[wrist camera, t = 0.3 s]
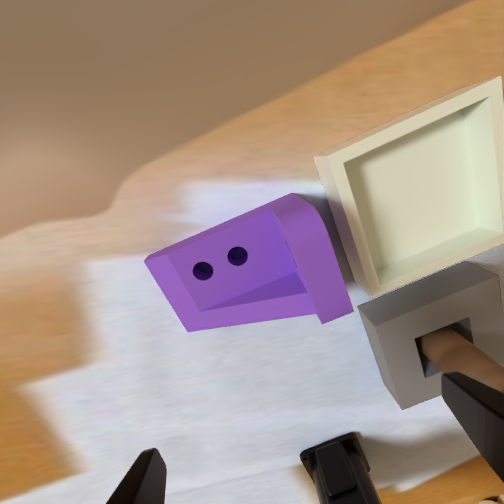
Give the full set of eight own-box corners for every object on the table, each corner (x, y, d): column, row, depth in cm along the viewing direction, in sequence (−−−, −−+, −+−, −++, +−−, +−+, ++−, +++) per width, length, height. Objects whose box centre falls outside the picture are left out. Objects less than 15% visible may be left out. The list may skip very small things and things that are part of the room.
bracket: (290, 192, 20) (319, 208, 14) (318, 267, 23) (354, 311, 16) (149, 254, 21) (114, 296, 14) (190, 321, 23) (175, 383, 17)
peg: (447, 335, 26) (574, 438, 16) (404, 353, 26) (504, 463, 16) (440, 299, 24) (574, 388, 15) (394, 318, 24) (497, 417, 15)
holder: (479, 346, 26) (509, 368, 23) (384, 383, 27) (402, 410, 24) (465, 261, 23) (498, 275, 20) (357, 306, 24) (374, 326, 21)
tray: (478, 228, 22) (515, 238, 19) (354, 281, 23) (372, 298, 20) (459, 88, 18) (501, 75, 16) (312, 156, 19) (327, 155, 16)
